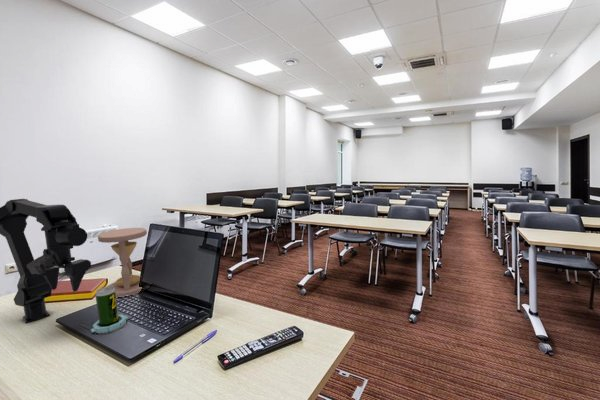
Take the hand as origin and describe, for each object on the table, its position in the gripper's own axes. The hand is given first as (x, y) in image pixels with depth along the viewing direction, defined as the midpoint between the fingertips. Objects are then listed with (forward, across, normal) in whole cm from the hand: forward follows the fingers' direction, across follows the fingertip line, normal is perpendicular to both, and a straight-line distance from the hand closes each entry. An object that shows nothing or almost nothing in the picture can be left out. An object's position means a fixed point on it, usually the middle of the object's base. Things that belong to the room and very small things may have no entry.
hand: (64, 290), depth 98 cm
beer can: (+12, +15, +2) cm, 19 cm away
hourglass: (+12, -3, +28) cm, 31 cm away
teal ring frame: (+12, +15, +2) cm, 19 cm away
